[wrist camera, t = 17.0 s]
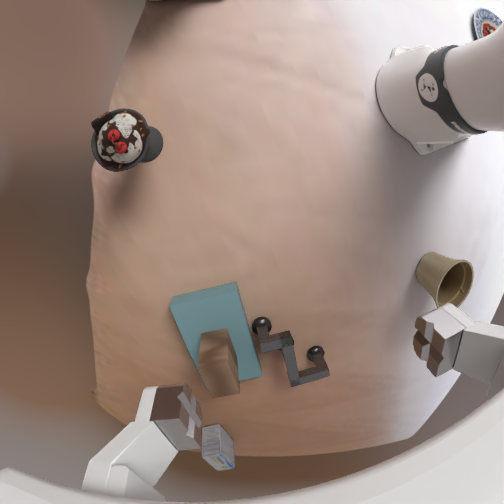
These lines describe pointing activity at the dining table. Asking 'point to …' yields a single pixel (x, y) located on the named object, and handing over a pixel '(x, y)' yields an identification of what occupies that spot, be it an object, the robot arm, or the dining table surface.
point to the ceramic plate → (485, 22)
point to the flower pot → (445, 278)
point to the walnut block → (218, 363)
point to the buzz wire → (290, 353)
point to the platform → (217, 324)
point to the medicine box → (217, 447)
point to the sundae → (124, 140)
